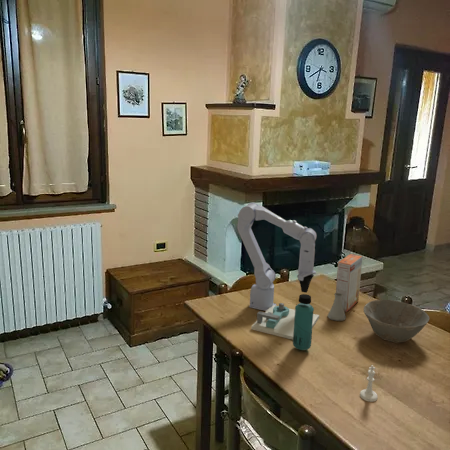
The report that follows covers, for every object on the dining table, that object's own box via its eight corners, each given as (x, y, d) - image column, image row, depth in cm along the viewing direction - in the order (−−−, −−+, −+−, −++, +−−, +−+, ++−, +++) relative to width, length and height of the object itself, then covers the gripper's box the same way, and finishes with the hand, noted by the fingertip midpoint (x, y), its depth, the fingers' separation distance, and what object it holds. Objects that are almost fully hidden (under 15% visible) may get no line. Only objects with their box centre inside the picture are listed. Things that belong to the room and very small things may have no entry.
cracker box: (345, 297, 196) (349, 253, 191) (358, 301, 193) (363, 255, 188) (333, 308, 185) (337, 261, 180) (347, 312, 182) (351, 264, 177)
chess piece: (357, 391, 130) (360, 361, 128) (373, 390, 131) (377, 360, 128) (363, 402, 126) (367, 370, 123) (380, 401, 126) (384, 370, 123)
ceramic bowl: (426, 330, 169) (429, 306, 166) (424, 359, 148) (428, 332, 146) (365, 318, 177) (368, 295, 175) (356, 344, 157) (359, 318, 155)
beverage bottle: (312, 346, 155) (316, 293, 150) (309, 356, 149) (313, 300, 144) (293, 343, 157) (297, 290, 152) (290, 352, 151) (293, 297, 146)
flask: (344, 314, 181) (346, 291, 178) (347, 322, 174) (349, 298, 171) (326, 312, 181) (328, 290, 179) (328, 320, 174) (330, 297, 172)
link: (276, 308, 181) (276, 304, 180) (290, 311, 178) (290, 307, 178) (262, 325, 166) (262, 321, 165) (277, 329, 163) (277, 325, 163)
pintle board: (251, 329, 166) (251, 316, 165) (272, 307, 185) (272, 295, 184) (302, 342, 157) (303, 328, 156) (319, 317, 177) (320, 305, 175)
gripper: (311, 266, 167) (309, 300, 170) (321, 256, 179) (318, 287, 183) (293, 263, 170) (291, 296, 173) (304, 253, 182) (302, 284, 186)
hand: (304, 291), depth 178 cm, fingers closed
